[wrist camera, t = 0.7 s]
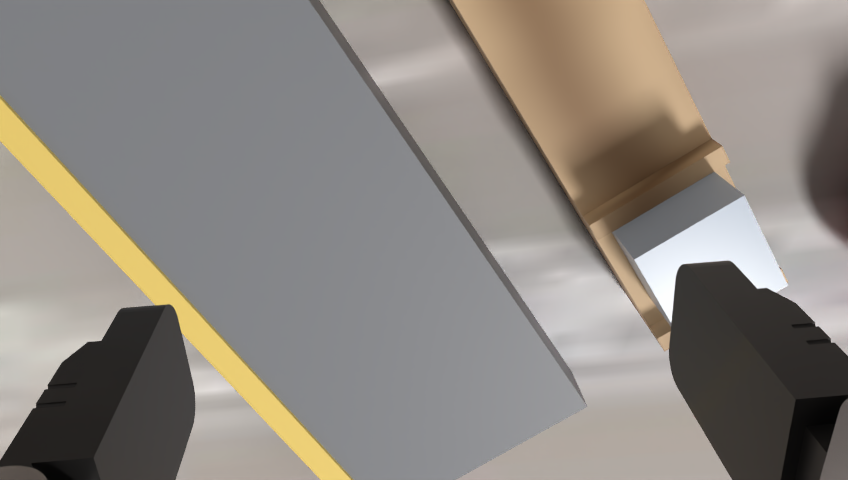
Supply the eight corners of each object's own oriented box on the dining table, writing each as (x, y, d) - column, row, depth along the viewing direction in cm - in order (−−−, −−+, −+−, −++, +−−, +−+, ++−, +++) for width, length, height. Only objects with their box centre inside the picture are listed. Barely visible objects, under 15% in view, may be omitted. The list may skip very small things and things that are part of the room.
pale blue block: (703, 163, 32) (744, 195, 28) (745, 246, 33) (788, 285, 30) (605, 221, 32) (634, 259, 29) (651, 300, 34) (683, 343, 31)
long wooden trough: (398, -426, 26) (410, -500, 21) (730, 229, 38) (788, 282, 33) (258, -316, 27) (237, -361, 22) (624, 291, 39) (664, 351, 34)
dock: (147, -253, 28) (123, -269, 25) (571, 371, 41) (588, 409, 38) (-116, -43, 30) (-167, -35, 27) (367, 487, 43) (368, 530, 40)
